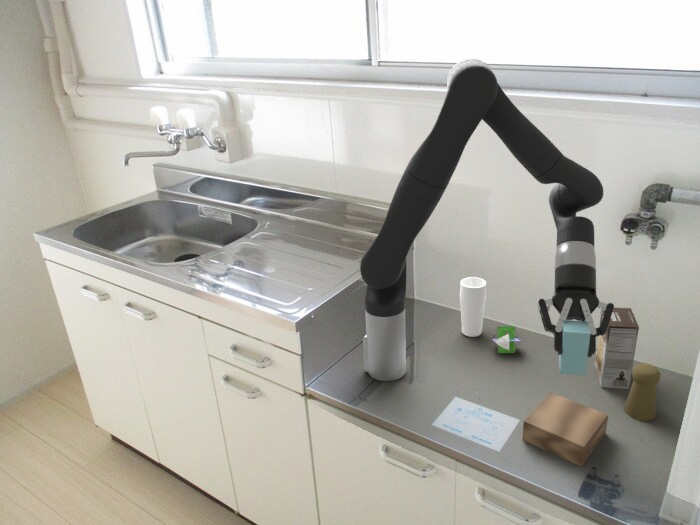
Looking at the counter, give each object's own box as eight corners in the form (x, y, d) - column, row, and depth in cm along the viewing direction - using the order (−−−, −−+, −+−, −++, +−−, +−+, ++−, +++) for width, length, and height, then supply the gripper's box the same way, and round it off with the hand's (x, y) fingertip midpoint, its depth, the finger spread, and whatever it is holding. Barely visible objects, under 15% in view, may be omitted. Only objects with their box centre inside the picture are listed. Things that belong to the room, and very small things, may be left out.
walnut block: (522, 441, 119) (523, 421, 117) (548, 412, 127) (550, 392, 125) (581, 468, 111) (583, 446, 109) (605, 435, 119) (608, 414, 117)
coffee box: (593, 365, 142) (600, 305, 135) (621, 367, 140) (630, 307, 134) (600, 388, 133) (608, 325, 127) (630, 390, 132) (640, 327, 126)
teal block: (560, 373, 111) (564, 331, 108) (558, 360, 115) (562, 319, 112) (585, 375, 110) (590, 333, 107) (583, 362, 114) (587, 321, 111)
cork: (629, 399, 129) (636, 356, 125) (659, 409, 125) (667, 365, 121) (620, 413, 125) (627, 369, 120) (651, 424, 121) (659, 379, 117)
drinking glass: (465, 341, 155) (467, 289, 149) (454, 329, 161) (455, 279, 155) (489, 336, 156) (491, 285, 150) (477, 324, 162) (479, 275, 156)
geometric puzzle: (488, 333, 154) (492, 320, 147) (515, 332, 153) (520, 319, 146) (491, 359, 150) (496, 347, 143) (519, 358, 150) (525, 346, 143)
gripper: (538, 260, 114) (535, 347, 108) (618, 263, 110) (620, 353, 104) (535, 274, 121) (533, 356, 115) (611, 277, 117) (612, 363, 111)
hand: (574, 354), depth 110 cm, fingers closed on teal block, 4 cm apart
